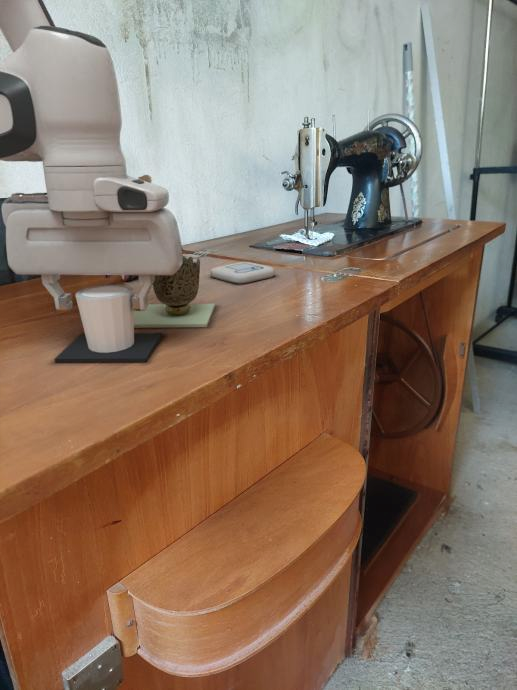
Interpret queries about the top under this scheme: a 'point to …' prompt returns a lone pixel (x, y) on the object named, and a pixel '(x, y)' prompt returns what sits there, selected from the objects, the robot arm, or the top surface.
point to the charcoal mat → (135, 353)
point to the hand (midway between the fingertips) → (102, 309)
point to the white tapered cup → (107, 317)
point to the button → (242, 272)
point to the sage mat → (173, 317)
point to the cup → (178, 287)
